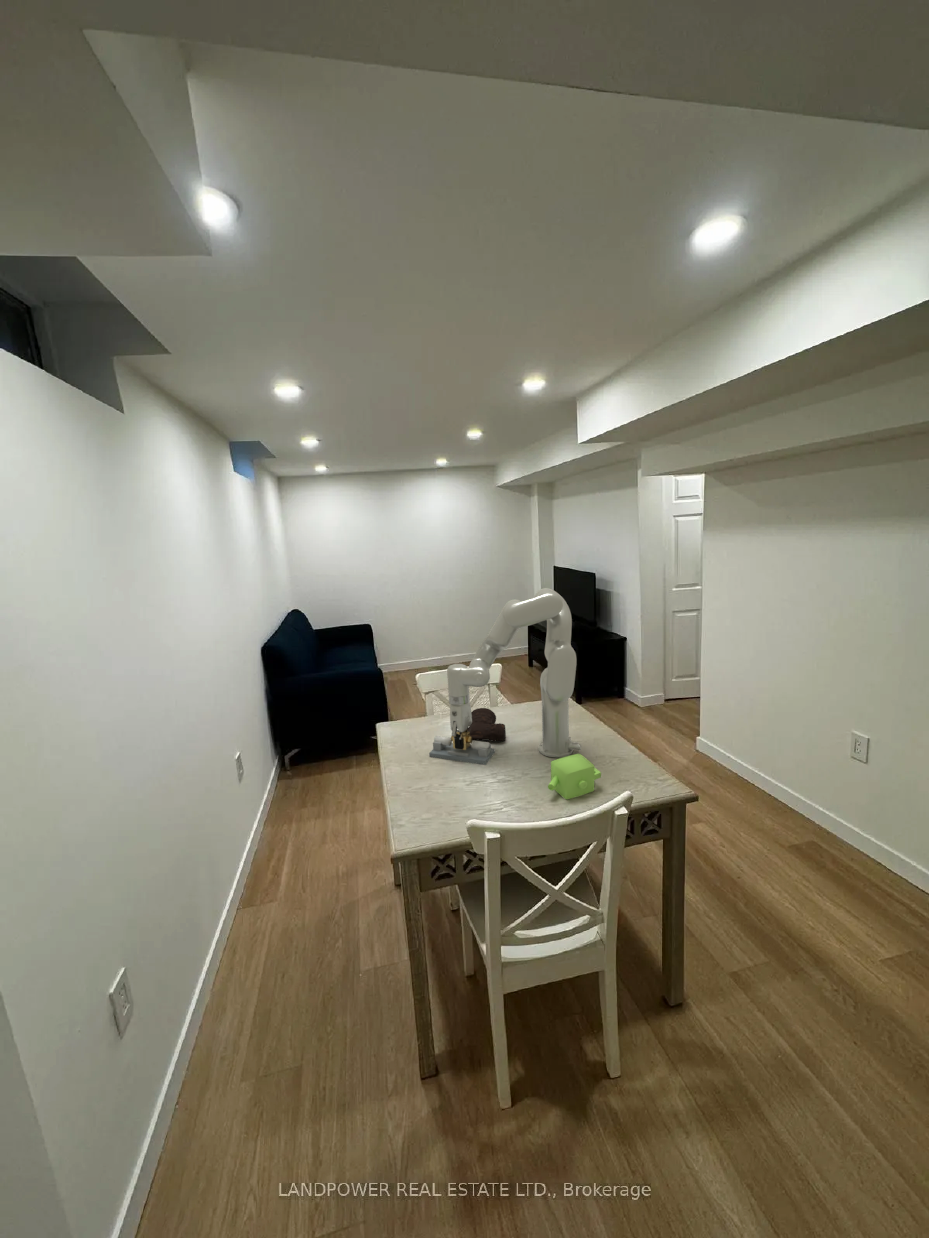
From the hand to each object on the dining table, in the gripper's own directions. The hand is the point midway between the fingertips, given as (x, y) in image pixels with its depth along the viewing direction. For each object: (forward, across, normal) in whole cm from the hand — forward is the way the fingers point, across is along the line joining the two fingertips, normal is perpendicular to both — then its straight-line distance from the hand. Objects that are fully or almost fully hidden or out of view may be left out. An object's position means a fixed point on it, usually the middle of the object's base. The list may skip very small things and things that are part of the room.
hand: (462, 744), depth 180 cm
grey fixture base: (+4, 0, 0) cm, 4 cm away
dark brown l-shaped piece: (+4, +18, -3) cm, 19 cm away
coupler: (+1, 0, 0) cm, 1 cm away
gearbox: (+4, -13, -42) cm, 45 cm away
